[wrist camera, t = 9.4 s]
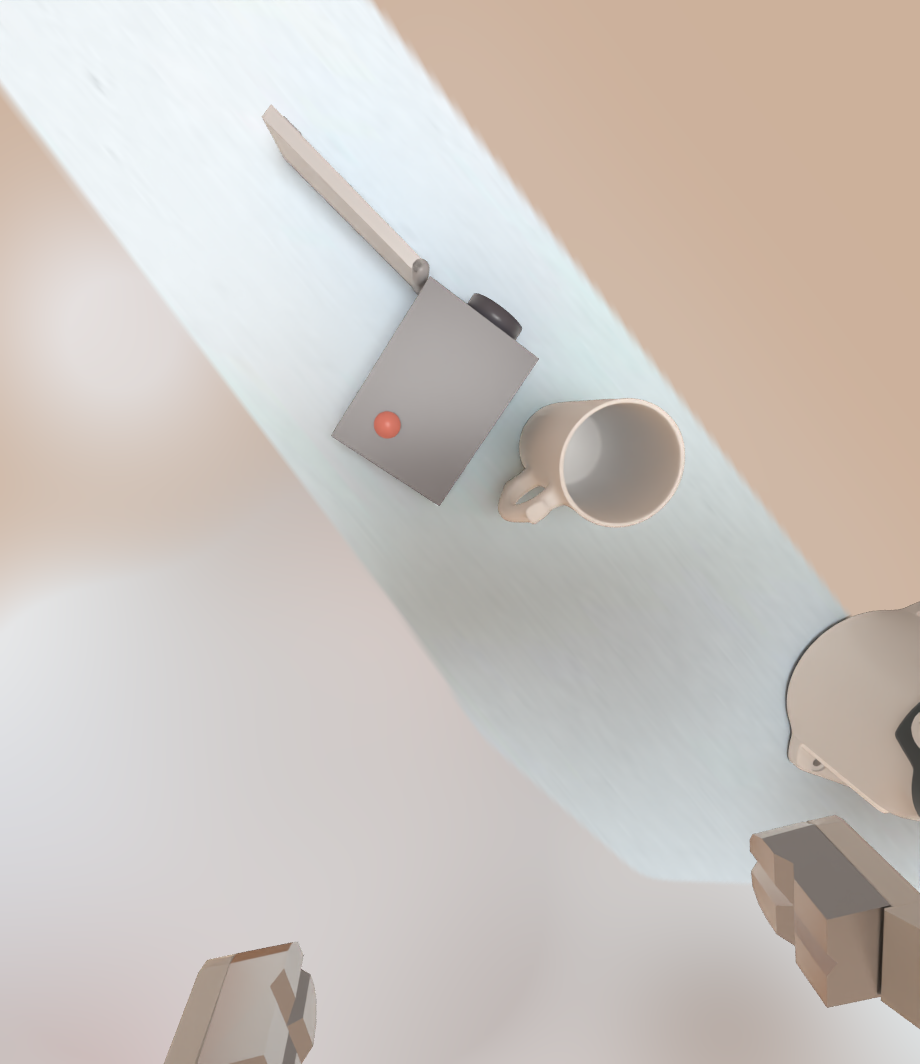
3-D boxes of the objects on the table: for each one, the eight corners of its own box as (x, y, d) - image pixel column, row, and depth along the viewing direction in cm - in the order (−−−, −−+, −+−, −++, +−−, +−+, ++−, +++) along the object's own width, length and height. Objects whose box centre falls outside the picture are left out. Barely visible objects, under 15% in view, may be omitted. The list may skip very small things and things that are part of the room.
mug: (576, 380, 37) (649, 371, 26) (619, 457, 39) (706, 482, 27) (460, 457, 38) (481, 482, 26) (507, 530, 40) (547, 583, 28)
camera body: (531, 348, 36) (554, 339, 31) (435, 491, 38) (439, 507, 33) (436, 276, 35) (441, 251, 29) (341, 429, 37) (327, 435, 31)
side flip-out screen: (420, 297, 35) (421, 281, 30) (282, 158, 32) (260, 118, 27) (432, 283, 35) (435, 265, 30) (294, 143, 32) (274, 99, 27)
